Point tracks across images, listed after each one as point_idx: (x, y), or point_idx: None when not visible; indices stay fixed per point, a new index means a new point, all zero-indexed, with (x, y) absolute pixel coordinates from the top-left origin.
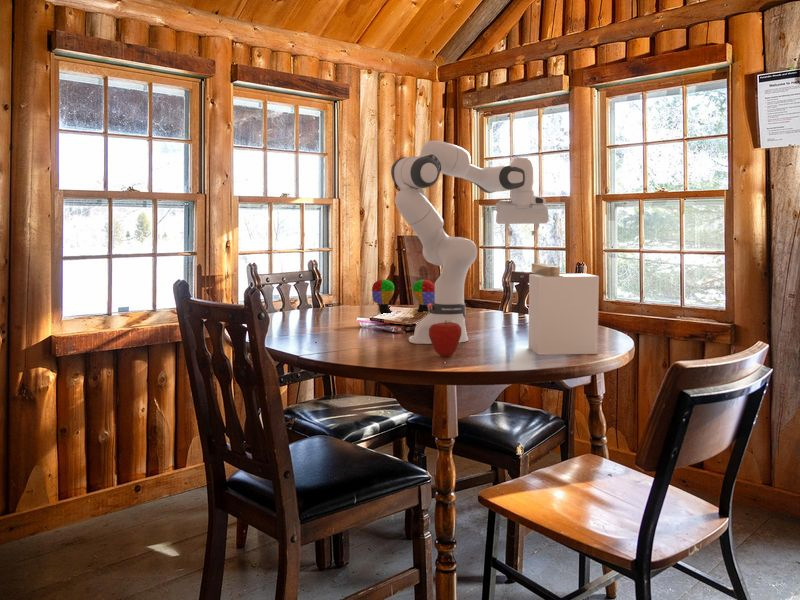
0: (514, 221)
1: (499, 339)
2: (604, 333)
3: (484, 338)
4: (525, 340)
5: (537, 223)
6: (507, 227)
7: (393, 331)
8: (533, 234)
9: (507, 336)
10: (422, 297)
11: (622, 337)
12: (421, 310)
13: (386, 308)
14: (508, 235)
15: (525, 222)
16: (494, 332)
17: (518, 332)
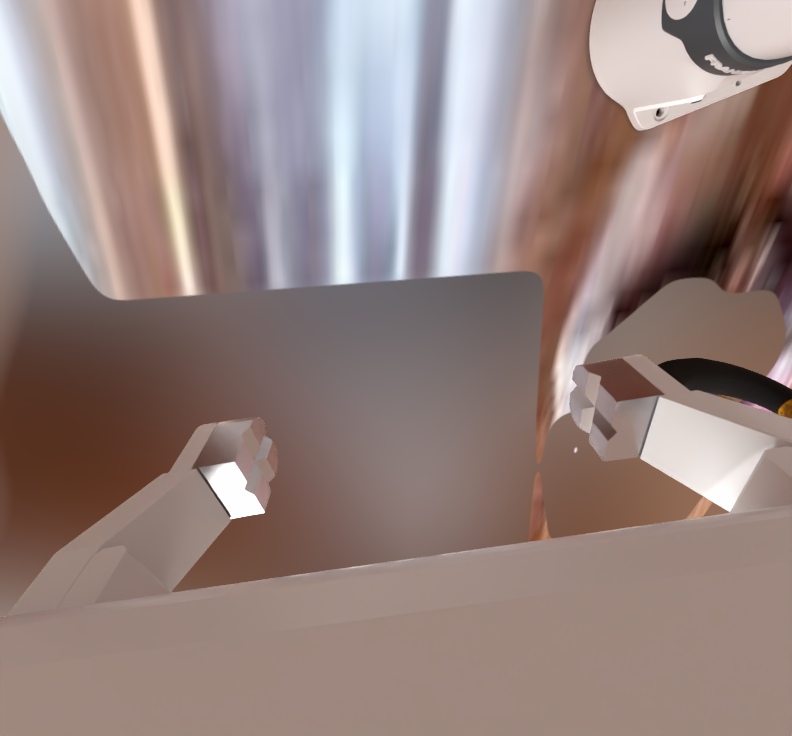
0: (788, 570)
1: (467, 64)
2: (114, 246)
3: (518, 90)
4: (372, 40)
5: (30, 620)
6: (789, 430)
7: (769, 241)
8: (240, 422)
9: (431, 151)
10: (712, 393)
11: (27, 153)
12: (676, 379)
13: (775, 390)
14: (634, 361)
15: (365, 588)
16: (464, 242)
17: (389, 248)
